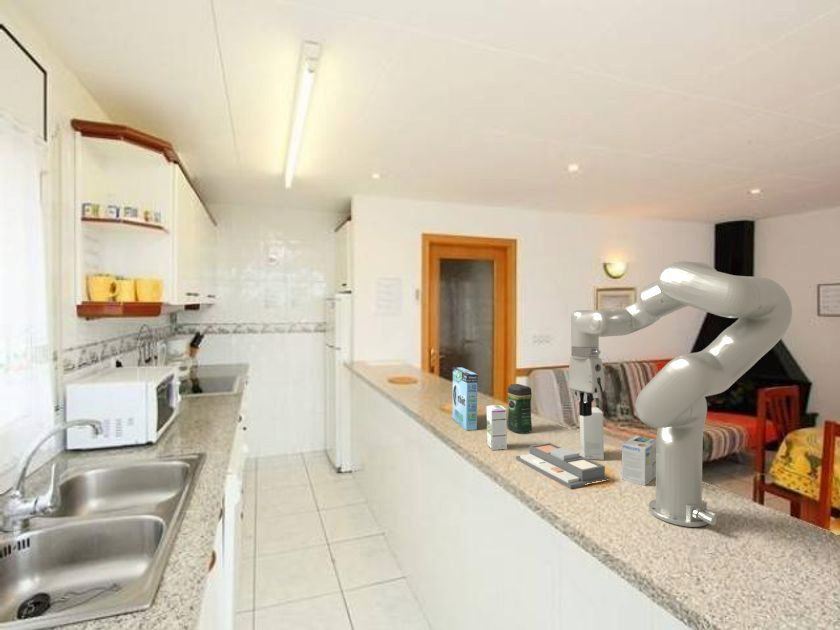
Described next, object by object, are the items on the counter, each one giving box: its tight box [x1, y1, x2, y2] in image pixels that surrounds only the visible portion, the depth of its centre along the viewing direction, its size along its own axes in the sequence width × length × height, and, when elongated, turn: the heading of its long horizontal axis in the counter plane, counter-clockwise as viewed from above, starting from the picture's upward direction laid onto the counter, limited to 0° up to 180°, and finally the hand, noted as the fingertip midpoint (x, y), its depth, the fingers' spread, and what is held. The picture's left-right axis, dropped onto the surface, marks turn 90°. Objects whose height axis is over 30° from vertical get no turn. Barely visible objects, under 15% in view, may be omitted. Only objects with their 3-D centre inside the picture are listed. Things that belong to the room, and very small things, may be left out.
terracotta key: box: [535, 445, 558, 453], centre depth 142 cm, size 6×6×2 cm
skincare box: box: [578, 406, 605, 461], centre depth 147 cm, size 8×7×16 cm
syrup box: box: [486, 404, 508, 451], centre depth 155 cm, size 6×6×14 cm
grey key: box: [550, 446, 580, 461], centre depth 135 cm, size 6×6×2 cm
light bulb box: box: [621, 435, 656, 486], centre depth 128 cm, size 11×7×11 cm, turn 135°
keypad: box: [515, 442, 610, 490], centre depth 135 cm, size 25×14×4 cm, turn 23°
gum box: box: [451, 366, 479, 431], centre depth 186 cm, size 20×5×23 cm, turn 13°
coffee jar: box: [507, 383, 533, 434], centre depth 176 cm, size 10×8×19 cm
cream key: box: [568, 460, 597, 469], centre depth 128 cm, size 6×6×2 cm
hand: (585, 415), depth 128 cm, fingers closed
